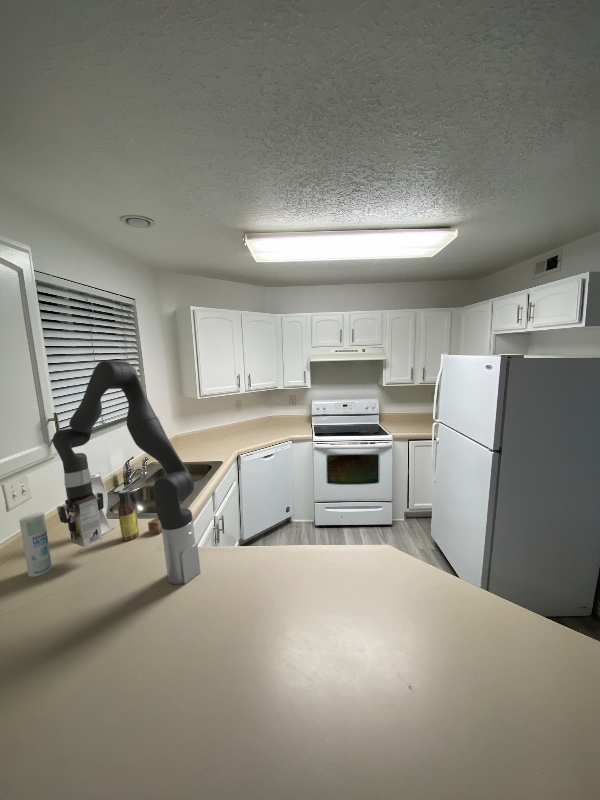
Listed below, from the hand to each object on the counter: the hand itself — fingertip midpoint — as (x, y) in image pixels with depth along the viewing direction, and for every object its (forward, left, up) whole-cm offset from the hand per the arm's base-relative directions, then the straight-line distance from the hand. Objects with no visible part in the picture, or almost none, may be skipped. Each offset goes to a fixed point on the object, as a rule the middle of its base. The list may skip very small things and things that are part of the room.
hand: (85, 526), depth 108 cm
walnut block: (-6, -24, -13) cm, 28 cm away
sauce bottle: (+1, -16, -13) cm, 21 cm away
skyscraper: (+19, -14, -13) cm, 27 cm away
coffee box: (0, 0, -5) cm, 5 cm away
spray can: (+10, +11, -13) cm, 20 cm away
